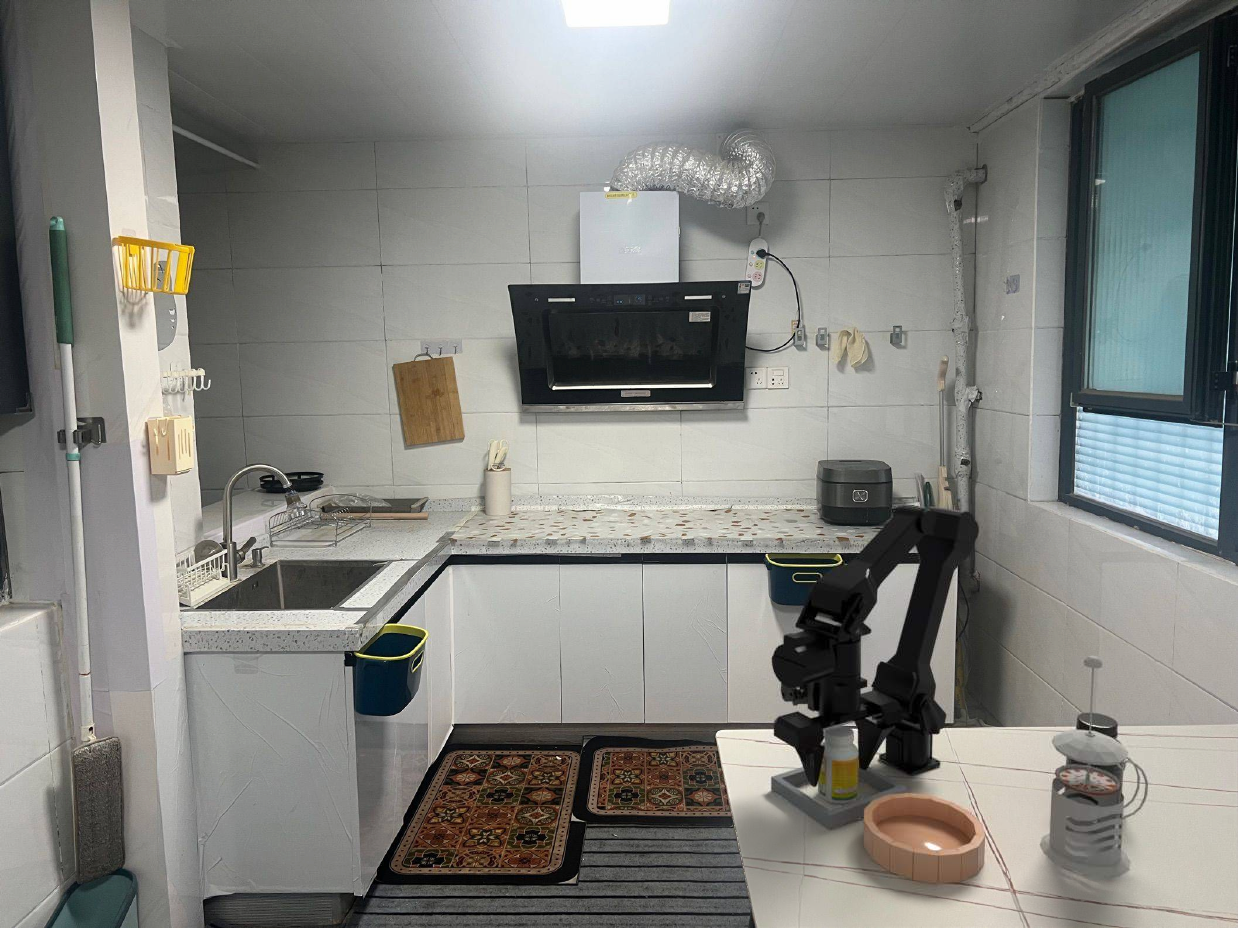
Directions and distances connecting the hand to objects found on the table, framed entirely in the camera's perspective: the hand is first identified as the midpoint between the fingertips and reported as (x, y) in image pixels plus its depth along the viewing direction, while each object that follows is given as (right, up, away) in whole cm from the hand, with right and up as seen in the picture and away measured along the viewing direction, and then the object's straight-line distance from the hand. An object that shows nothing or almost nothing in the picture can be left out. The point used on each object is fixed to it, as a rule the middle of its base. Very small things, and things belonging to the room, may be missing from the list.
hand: (838, 777), depth 119 cm
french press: (+27, -4, -14) cm, 31 cm away
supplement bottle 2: (+34, -3, -3) cm, 34 cm away
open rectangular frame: (0, -3, 0) cm, 3 cm away
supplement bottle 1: (0, -3, 0) cm, 3 cm away
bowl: (+7, -4, -13) cm, 15 cm away
